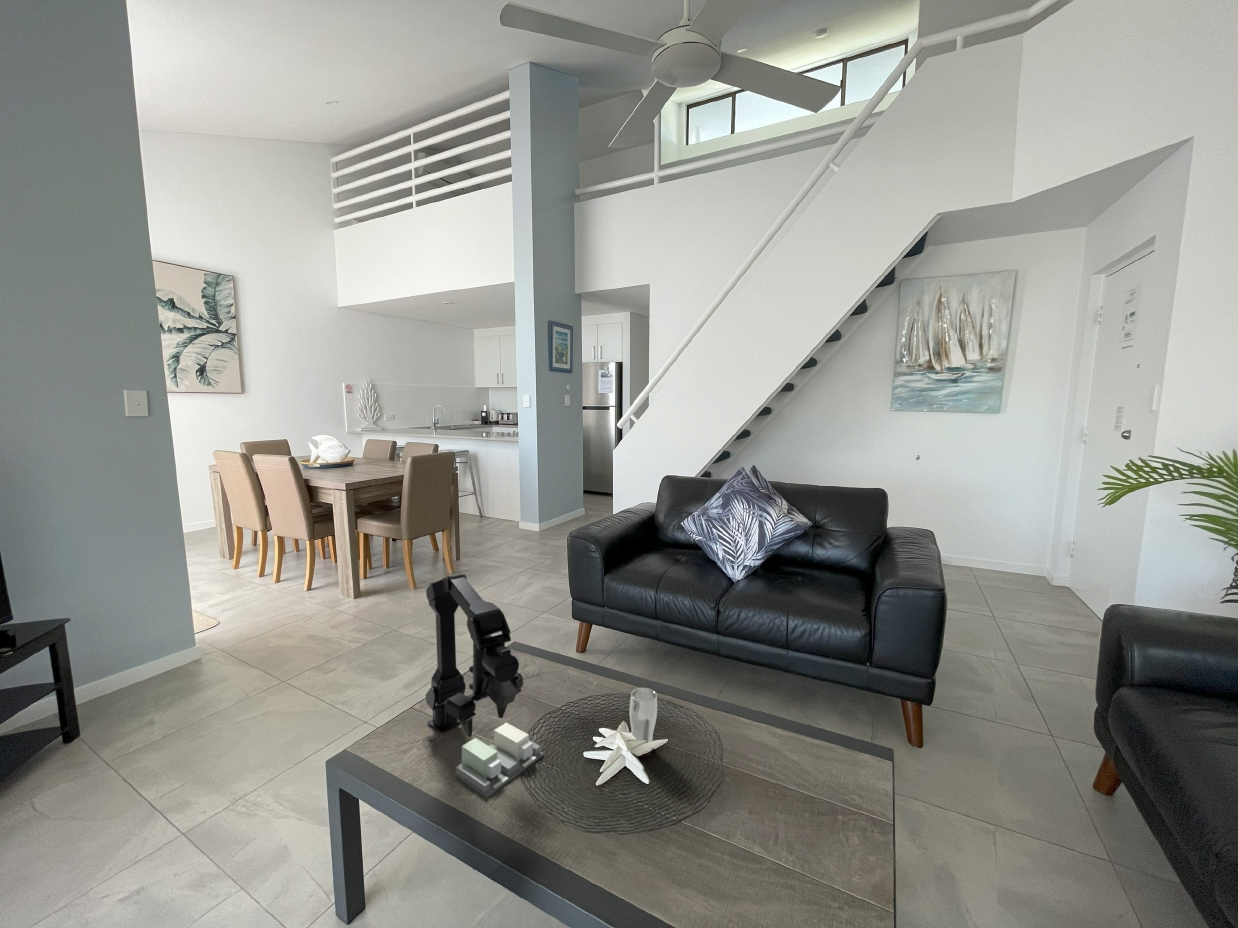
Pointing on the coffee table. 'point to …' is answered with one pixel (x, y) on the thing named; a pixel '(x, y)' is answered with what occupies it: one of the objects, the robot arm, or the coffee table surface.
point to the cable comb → (508, 772)
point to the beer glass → (643, 713)
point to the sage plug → (481, 759)
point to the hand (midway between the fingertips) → (485, 726)
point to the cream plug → (513, 741)
